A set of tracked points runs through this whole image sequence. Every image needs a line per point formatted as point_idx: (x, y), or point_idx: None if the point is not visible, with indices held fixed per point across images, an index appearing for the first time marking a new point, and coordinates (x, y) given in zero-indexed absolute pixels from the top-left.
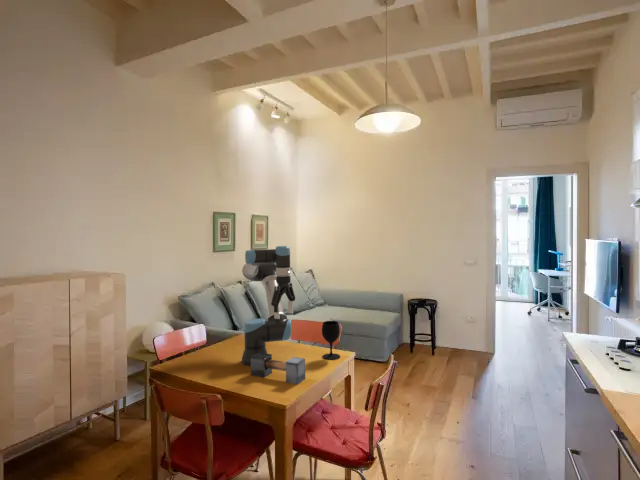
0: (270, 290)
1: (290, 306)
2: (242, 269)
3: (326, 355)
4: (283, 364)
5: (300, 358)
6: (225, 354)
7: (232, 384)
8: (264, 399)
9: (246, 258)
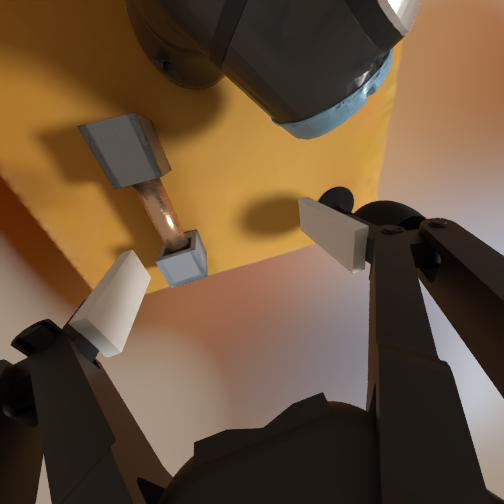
0: None
1: (324, 235)
2: None
3: (333, 199)
4: (162, 240)
5: (200, 269)
6: None
7: (22, 142)
8: (77, 270)
9: None
